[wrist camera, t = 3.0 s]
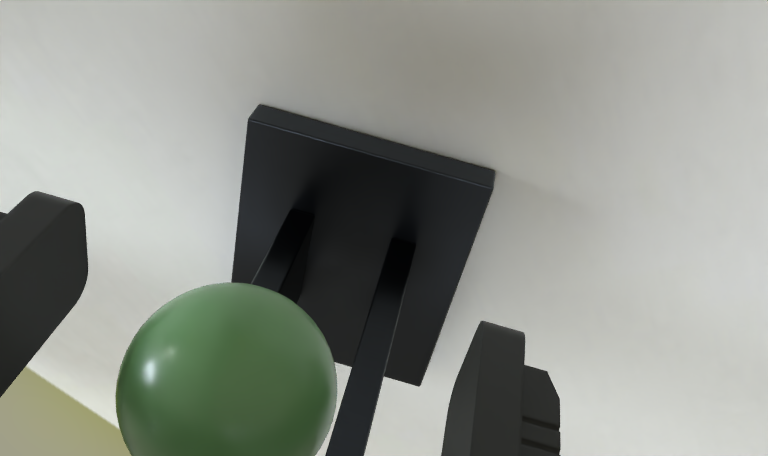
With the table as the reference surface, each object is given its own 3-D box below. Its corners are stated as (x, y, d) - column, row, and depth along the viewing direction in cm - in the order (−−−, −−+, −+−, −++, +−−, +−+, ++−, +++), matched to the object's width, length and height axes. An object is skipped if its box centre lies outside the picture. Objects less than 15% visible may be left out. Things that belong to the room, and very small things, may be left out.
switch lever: (150, 221, 10) (43, 448, 8) (370, 284, 10) (298, 525, 8) (235, 419, 22) (197, 525, 21) (332, 447, 22) (301, 556, 21)
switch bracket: (258, 103, 26) (70, 354, 16) (495, 170, 26) (461, 469, 16) (235, 313, 33) (92, 584, 22) (423, 367, 32) (366, 667, 22)
